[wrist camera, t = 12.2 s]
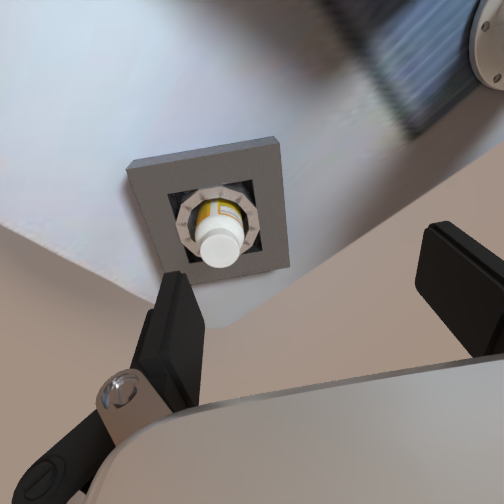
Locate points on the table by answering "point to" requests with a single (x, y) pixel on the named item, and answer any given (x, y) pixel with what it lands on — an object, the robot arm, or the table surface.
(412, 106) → the table surface
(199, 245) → the supplement bottle
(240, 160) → the bore block
